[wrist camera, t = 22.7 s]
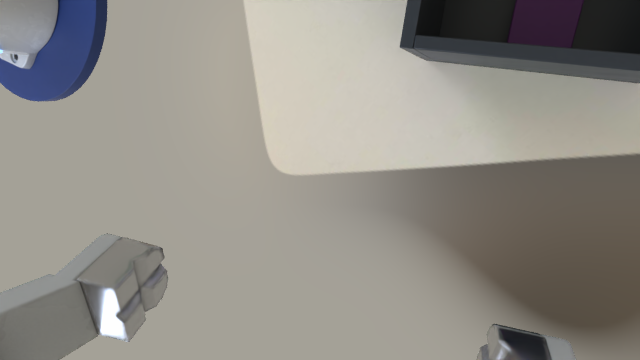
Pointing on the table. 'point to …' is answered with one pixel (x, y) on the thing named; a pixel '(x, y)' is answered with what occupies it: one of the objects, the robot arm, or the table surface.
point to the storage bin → (493, 50)
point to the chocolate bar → (545, 22)
